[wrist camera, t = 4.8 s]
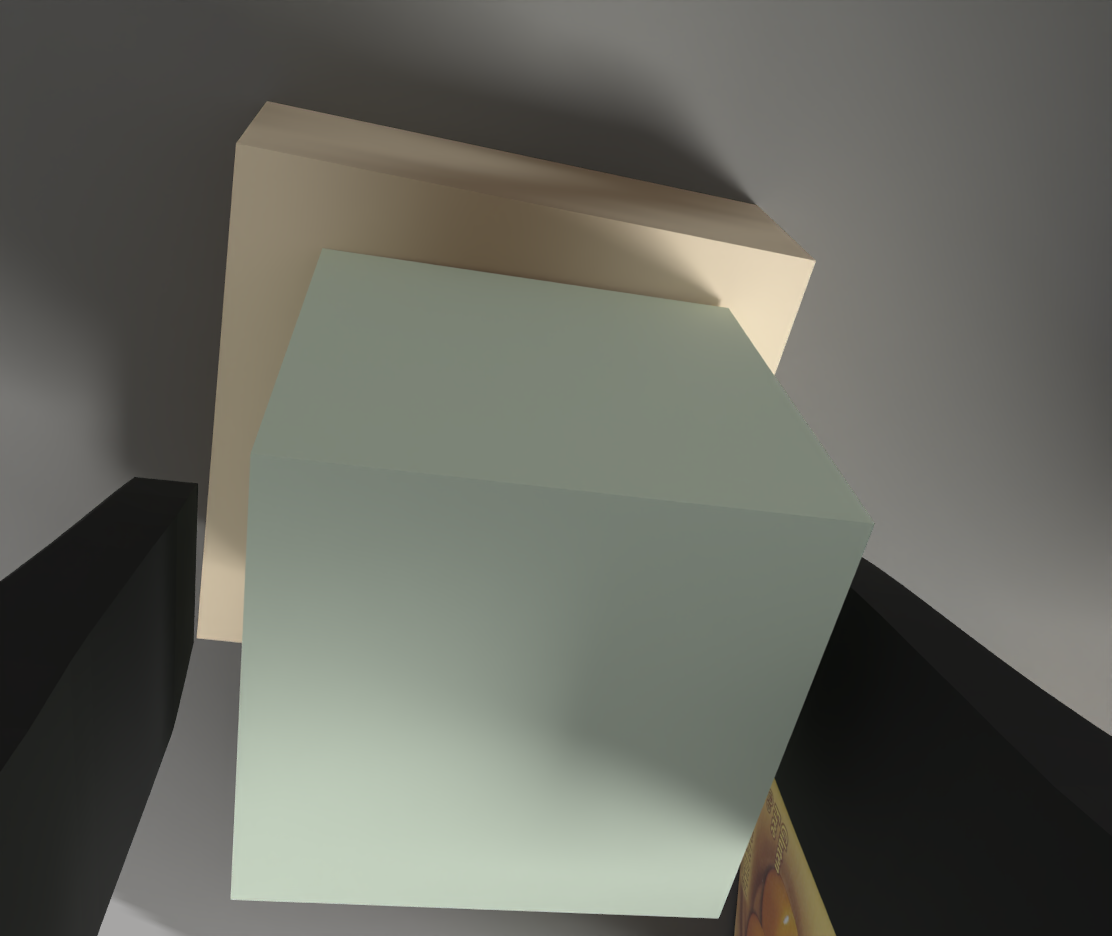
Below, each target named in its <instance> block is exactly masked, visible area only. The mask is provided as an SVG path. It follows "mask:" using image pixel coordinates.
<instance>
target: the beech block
mask: <svg viewBox="0 0 1112 936" xmlns="http://www.w3.org/2000/svg"><path fill="white" fill-rule="evenodd" d="M322 248H325V249H332V250H338V251H345V252H352V253H359V254H365V255H372V256H379V257H386V258H393V259H399V260H406V261H413V262H420V263H427V264H433V265H440V266H447V267H454V268H460V269H467V270H474V271H481V272H488V273H494V274H501V275H508V276H515V277H522V278H528V279H535V280H542V281H549V282H556V283H562V284H569V285H576V286H583V287H589V288H596V289H603V290H610V291H617V292H623V293H630V294H637V295H644V296H651V297H657V298H664V299H671V300H678V301H685V302H691V303H698V304H705V305H712V306H718V307H725V308H729V309H730V311H731V312H732V314H733V315H734V317H735V318H736V320H737V321H738V323H739V324H740V326H741V327H742V329H743V330H744V332H745V333H746V335H747V336H748V337H749V339H750V340H751V342H752V343H753V345H754V346H755V348H756V349H757V351H758V352H759V354H760V355H761V357H762V358H763V360H764V361H765V363H766V364H767V365H768V367H769V368H770V370H771V371H772V373H773V374H774V375H775V372H776V369H777V367H778V364H779V361H780V358H781V356H782V353H783V350H784V347H785V345H786V342H787V339H788V336H789V334H790V331H791V328H792V325H793V323H794V320H795V317H796V314H797V312H798V309H799V306H800V303H801V300H802V298H803V295H804V292H805V289H806V287H807V284H808V281H809V278H810V276H811V273H812V270H813V267H814V265H815V262H816V261H815V260H814V259H813V258H812V257H811V256H810V255H809V254H808V253H807V252H806V251H805V250H804V249H803V248H802V247H801V246H800V245H798V244H797V243H796V242H795V241H794V240H793V239H792V238H791V237H790V236H789V235H788V234H787V233H786V232H785V231H784V230H783V229H782V228H780V227H779V226H778V225H777V224H776V223H775V222H774V221H773V220H772V219H771V218H770V217H769V216H768V215H767V214H766V213H765V212H764V211H762V210H761V209H760V208H759V207H758V206H757V205H754V204H750V203H745V202H740V201H736V200H731V199H726V198H721V197H717V196H712V195H707V194H703V193H698V192H693V191H688V190H684V189H679V188H674V187H670V186H665V185H660V184H655V183H651V182H646V181H641V180H637V179H632V178H627V177H622V176H618V175H613V174H608V173H604V172H599V171H594V170H589V169H585V168H580V167H575V166H571V165H566V164H561V163H557V162H552V161H547V160H542V159H538V158H533V157H528V156H524V155H519V154H514V153H509V152H505V151H500V150H495V149H491V148H486V147H481V146H476V145H472V144H467V143H462V142H458V141H453V140H448V139H443V138H439V137H434V136H429V135H425V134H420V133H415V132H410V131H406V130H401V129H396V128H392V127H387V126H382V125H377V124H373V123H368V122H363V121H359V120H354V119H349V118H345V117H340V116H335V115H330V114H326V113H321V112H316V111H312V110H307V109H302V108H297V107H293V106H288V105H283V104H279V103H274V102H269V101H267V102H266V103H265V104H264V106H263V107H262V108H261V110H260V111H259V112H258V114H257V115H256V117H255V118H254V119H253V121H252V122H251V123H250V125H249V126H248V128H247V129H246V130H245V132H244V133H243V134H242V136H241V137H240V139H239V140H238V141H237V143H236V150H235V163H234V175H233V188H232V201H231V213H230V226H229V238H228V251H227V264H226V276H225V289H224V301H223V314H222V327H221V339H220V352H219V364H218V377H217V390H216V402H215V415H214V427H213V440H212V453H211V465H210V478H209V491H208V503H207V516H206V528H205V541H204V554H203V566H202V579H201V591H200V604H199V617H198V629H197V638H200V639H210V640H219V641H229V642H239V643H242V633H243V611H244V588H245V566H246V543H247V521H248V498H249V476H250V454H251V451H252V448H253V445H254V442H255V439H256V437H257V434H258V431H259V428H260V425H261V422H262V419H263V417H264V414H265V411H266V408H267V405H268V402H269V399H270V397H271V394H272V391H273V388H274V385H275V382H276V379H277V377H278V374H279V371H280V368H281V365H282V362H283V359H284V357H285V354H286V351H287V348H288V345H289V342H290V339H291V337H292V334H293V331H294V328H295V325H296V322H297V319H298V317H299V314H300V311H301V308H302V305H303V302H304V299H305V297H306V294H307V291H308V288H309V285H310V282H311V279H312V276H313V274H314V271H315V268H316V265H317V262H318V259H319V256H320V254H321V251H322Z"/></svg>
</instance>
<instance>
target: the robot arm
mask: <svg viewBox="0 0 1112 936" xmlns="http://www.w3.org/2000/svg"><path fill="white" fill-rule="evenodd" d="M197 502H198V484H196V483H187V482H177V481H167V480H157V479H148V478H138V477H134V478H133V479H132V480H130V481H129V482H127V483H126V484H125V485H123V486H122V487H121V488H119V489H118V490H117V491H115V492H114V493H113V494H112V495H110V496H109V497H108V498H107V499H105V500H104V501H103V502H102V503H100V504H99V505H98V506H97V507H95V508H94V509H93V510H92V511H91V512H89V513H88V514H87V515H86V516H84V517H83V518H82V519H81V520H79V521H78V522H77V523H76V524H74V525H73V526H72V527H71V528H69V529H68V530H67V531H66V532H64V533H63V534H62V535H61V536H59V537H58V538H57V539H56V540H54V541H53V542H52V543H51V544H49V545H48V546H47V547H45V548H44V549H43V550H41V551H40V552H39V553H37V554H36V555H35V556H33V557H32V558H31V559H29V560H28V561H27V562H25V563H24V564H23V565H21V566H20V567H19V568H17V569H16V570H15V571H13V572H12V573H11V574H9V575H8V576H7V577H5V578H4V579H3V580H2V581H0V936H97V935H98V932H99V929H100V926H101V924H102V921H103V918H104V915H105V913H106V910H107V907H108V905H109V902H110V899H111V897H112V894H113V891H114V889H115V886H116V883H117V881H118V878H119V875H120V872H121V870H122V867H123V864H124V862H125V859H126V856H127V854H128V851H129V848H130V846H131V843H132V840H133V838H134V835H135V832H136V829H137V827H138V824H139V821H140V819H141V816H142V813H143V811H144V808H145V805H146V803H147V800H148V797H149V794H150V792H151V789H152V786H153V784H154V781H155V778H156V775H157V773H158V770H159V767H160V764H161V762H162V759H163V756H164V753H165V751H166V748H167V745H168V742H169V740H170V737H171V734H172V731H173V728H174V724H175V720H176V716H177V712H178V708H179V704H180V699H181V695H182V691H183V687H184V682H185V678H186V674H187V669H188V665H189V660H190V656H191V651H192V647H193V643H194V608H195V573H196V538H197ZM774 778H775V781H776V784H777V786H778V789H779V791H780V794H781V797H782V799H783V802H784V804H785V807H786V810H787V812H788V815H789V817H790V820H791V823H792V825H793V828H794V830H795V833H796V835H797V838H798V840H799V843H800V846H801V848H802V851H803V853H804V856H805V858H806V861H807V863H808V866H809V868H810V871H811V873H812V876H813V878H814V881H815V884H816V886H817V889H818V891H819V894H820V896H821V899H822V901H823V904H824V906H825V909H826V911H827V914H828V916H829V919H830V922H831V924H832V927H833V929H834V932H835V934H836V936H1112V736H1110V735H1109V734H1107V733H1106V732H1104V731H1103V730H1101V729H1099V728H1098V727H1096V726H1095V725H1093V724H1092V723H1091V722H1089V721H1088V720H1086V719H1085V718H1083V717H1082V716H1080V715H1079V714H1077V713H1076V712H1074V711H1073V710H1072V709H1070V708H1069V707H1067V706H1066V705H1064V704H1063V703H1061V702H1060V701H1058V700H1057V699H1056V698H1054V697H1053V696H1051V695H1050V694H1048V693H1047V692H1045V691H1044V690H1042V689H1041V688H1040V687H1038V686H1037V685H1035V684H1034V683H1033V682H1031V681H1030V680H1028V679H1027V678H1026V677H1024V676H1023V675H1022V674H1020V673H1019V672H1017V671H1016V670H1015V669H1013V668H1012V667H1011V666H1009V665H1008V664H1006V663H1005V662H1004V661H1002V660H1001V659H1000V658H998V657H997V656H996V655H994V654H993V653H992V652H990V651H989V650H988V649H986V648H985V647H984V646H982V645H981V644H980V643H978V642H977V641H976V640H974V639H973V638H972V637H970V636H969V635H968V634H966V633H965V632H964V631H962V630H961V629H960V628H958V627H957V626H956V625H954V624H953V623H952V622H951V621H949V620H948V619H947V618H945V617H944V616H943V615H941V614H940V613H939V612H937V611H936V610H935V609H933V608H932V607H931V606H929V605H928V604H927V603H925V602H924V601H923V600H922V599H920V598H919V597H918V596H916V595H915V594H914V593H912V592H911V591H910V590H908V589H907V588H906V587H904V586H903V585H901V584H900V583H899V582H897V581H896V580H895V579H893V578H892V577H890V576H889V575H888V574H886V573H885V572H883V571H882V570H881V569H879V568H878V567H876V566H875V565H873V564H872V563H870V562H869V561H867V560H866V559H864V558H862V557H861V560H860V562H859V565H858V567H857V570H856V573H855V575H854V578H853V580H852V583H851V585H850V588H849V590H848V593H847V595H846V598H845V600H844V603H843V605H842V608H841V610H840V613H839V616H838V618H837V621H836V623H835V626H834V628H833V631H832V633H831V636H830V638H829V641H828V643H827V646H826V648H825V651H824V653H823V656H822V658H821V661H820V664H819V666H818V669H817V671H816V674H815V676H814V679H813V681H812V684H811V686H810V689H809V691H808V694H807V696H806V699H805V701H804V704H803V707H802V709H801V712H800V714H799V717H798V719H797V722H796V724H795V727H794V729H793V732H792V734H791V737H790V739H789V742H788V744H787V747H786V749H785V752H784V755H783V757H782V760H781V762H780V765H779V767H778V770H777V772H776V775H775V777H774Z"/></svg>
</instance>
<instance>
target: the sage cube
mask: <svg viewBox="0 0 1112 936" xmlns="http://www.w3.org/2000/svg"><path fill="white" fill-rule="evenodd" d="M874 525H875V523H874V522H873V520H872V519H871V517H870V516H869V514H868V513H867V511H866V510H865V508H864V507H863V506H862V504H861V503H860V501H859V500H858V498H857V497H856V495H855V494H854V492H853V491H852V489H851V488H850V486H849V485H848V483H847V482H846V480H845V479H844V478H843V476H842V475H841V473H840V472H839V470H838V469H837V467H836V466H835V464H834V463H833V461H832V460H831V458H830V457H829V455H828V454H827V452H826V451H825V450H824V448H823V447H822V445H821V444H820V442H819V441H818V439H817V438H816V436H815V435H814V433H813V432H812V430H811V429H810V427H809V426H808V424H807V423H806V422H805V420H804V419H803V417H802V416H801V414H800V413H799V411H798V410H797V408H796V407H795V405H794V404H793V402H792V401H791V399H790V398H789V396H788V395H787V394H786V392H785V391H784V389H783V388H782V386H781V385H780V383H779V382H778V380H777V379H776V377H775V376H774V374H773V373H772V371H771V370H770V368H769V367H768V365H767V364H766V363H765V361H764V360H763V358H762V357H761V355H760V354H759V352H758V351H757V349H756V348H755V346H754V345H753V343H752V342H751V340H750V339H749V337H748V336H747V335H746V333H745V332H744V330H743V329H742V327H741V326H740V324H739V323H738V321H737V320H736V318H735V317H734V315H733V314H732V312H731V311H730V309H729V308H725V307H718V306H712V305H705V304H698V303H691V302H685V301H678V300H671V299H664V298H657V297H651V296H644V295H637V294H630V293H623V292H617V291H610V290H603V289H596V288H589V287H583V286H576V285H569V284H562V283H556V282H549V281H542V280H535V279H528V278H522V277H515V276H508V275H501V274H494V273H488V272H481V271H474V270H467V269H460V268H454V267H447V266H440V265H433V264H427V263H420V262H413V261H406V260H399V259H393V258H386V257H379V256H372V255H365V254H359V253H352V252H345V251H338V250H332V249H325V248H322V251H321V254H320V256H319V259H318V262H317V265H316V268H315V271H314V274H313V276H312V279H311V282H310V285H309V288H308V291H307V294H306V297H305V299H304V302H303V305H302V308H301V311H300V314H299V317H298V319H297V322H296V325H295V328H294V331H293V334H292V337H291V339H290V342H289V345H288V348H287V351H286V354H285V357H284V359H283V362H282V365H281V368H280V371H279V374H278V377H277V379H276V382H275V385H274V388H273V391H272V394H271V397H270V399H269V402H268V405H267V408H266V411H265V414H264V417H263V419H262V422H261V425H260V428H259V431H258V434H257V437H256V439H255V442H254V445H253V448H252V451H251V454H250V476H249V498H248V521H247V543H246V566H245V588H244V611H243V633H242V655H241V678H240V700H239V723H238V745H237V768H236V790H235V813H234V835H233V858H232V880H231V900H252V901H278V902H304V903H330V904H356V905H382V906H408V907H433V908H459V909H485V910H511V911H537V912H563V913H589V914H614V915H640V916H666V917H692V918H718V919H719V916H720V914H721V911H722V909H723V906H724V904H725V901H726V899H727V896H728V894H729V891H730V889H731V886H732V883H733V881H734V878H735V876H736V873H737V871H738V868H739V866H740V863H741V861H742V858H743V856H744V853H745V851H746V848H747V846H748V843H749V840H750V838H751V835H752V833H753V830H754V828H755V825H756V823H757V820H758V818H759V815H760V813H761V810H762V808H763V805H764V803H765V800H766V798H767V795H768V792H769V790H770V787H771V785H772V782H773V780H774V777H775V775H776V772H777V770H778V767H779V765H780V762H781V760H782V757H783V755H784V752H785V749H786V747H787V744H788V742H789V739H790V737H791V734H792V732H793V729H794V727H795V724H796V722H797V719H798V717H799V714H800V712H801V709H802V707H803V704H804V701H805V699H806V696H807V694H808V691H809V689H810V686H811V684H812V681H813V679H814V676H815V674H816V671H817V669H818V666H819V664H820V661H821V658H822V656H823V653H824V651H825V648H826V646H827V643H828V641H829V638H830V636H831V633H832V631H833V628H834V626H835V623H836V621H837V618H838V616H839V613H840V610H841V608H842V605H843V603H844V600H845V598H846V595H847V593H848V590H849V588H850V585H851V583H852V580H853V578H854V575H855V573H856V570H857V567H858V565H859V562H860V560H861V557H862V555H863V552H864V550H865V547H866V545H867V542H868V540H869V537H870V535H871V532H872V530H873V527H874Z"/></svg>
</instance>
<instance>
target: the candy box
mask: <svg viewBox="0 0 1112 936" xmlns="http://www.w3.org/2000/svg"><path fill="white" fill-rule="evenodd" d="M734 936H836V934H835V932H834V929H833V927H832V924H831V922H830V919H829V916H828V914H827V911H826V909H825V906H824V904H823V901H822V899H821V896H820V894H819V891H818V889H817V886H816V884H815V881H814V878H813V876H812V873H811V871H810V868H809V866H808V863H807V861H806V858H805V856H804V853H803V851H802V848H801V846H800V843H799V840H798V838H797V835H796V833H795V830H794V828H793V825H792V823H791V820H790V817H789V815H788V812H787V810H786V807H785V804H784V802H783V799H782V797H781V794H780V791H779V789H778V786H777V784H776V781H775V778H774V780H773V782H772V785H771V787H770V790H769V792H768V795H767V798H766V800H765V803H764V805H763V808H762V810H761V813H760V815H759V818H758V820H757V823H756V825H755V828H754V830H753V833H752V835H751V838H750V840H749V843H748V846H747V848H746V851H745V853H744V856H743V858H742V861H741V865H740V875H739V887H738V900H737V910H736V921H735V932H734Z"/></svg>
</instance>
